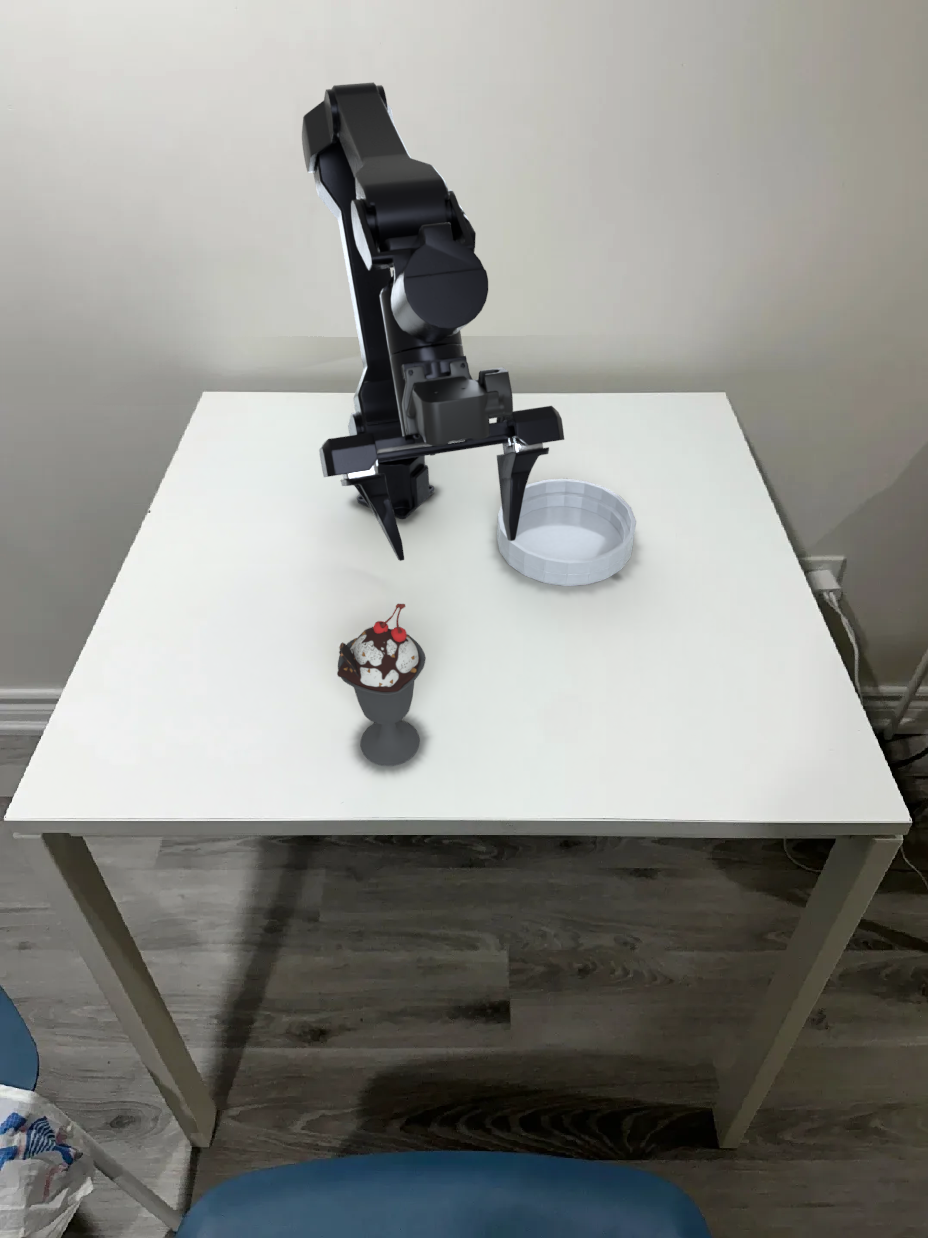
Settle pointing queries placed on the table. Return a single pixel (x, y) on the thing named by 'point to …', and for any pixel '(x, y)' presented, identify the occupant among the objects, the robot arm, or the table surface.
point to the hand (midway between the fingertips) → (457, 550)
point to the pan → (569, 533)
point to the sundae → (384, 688)
